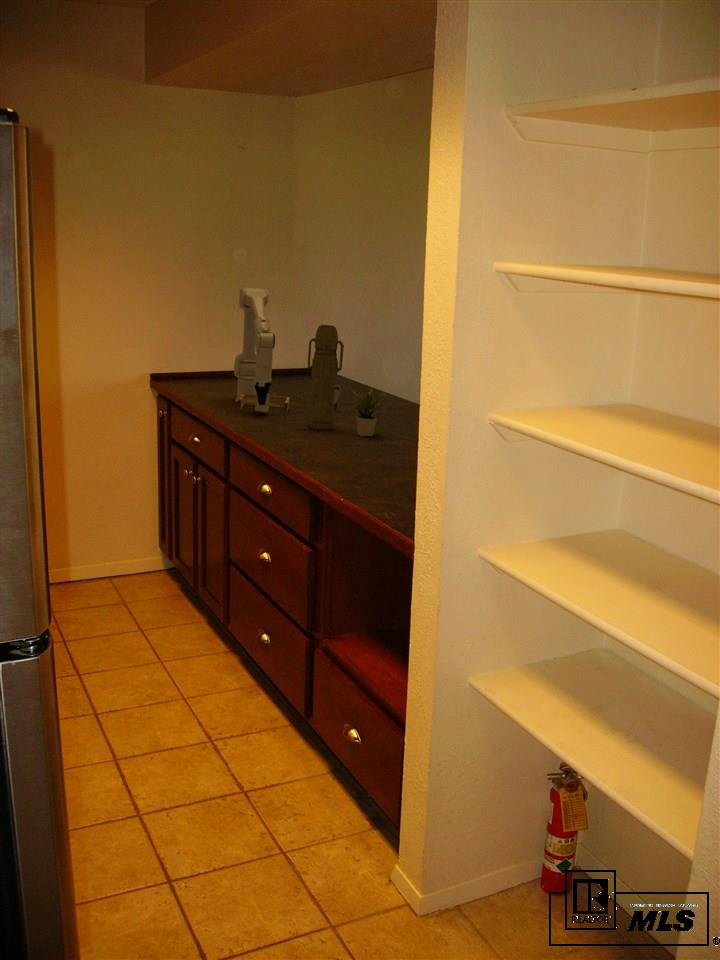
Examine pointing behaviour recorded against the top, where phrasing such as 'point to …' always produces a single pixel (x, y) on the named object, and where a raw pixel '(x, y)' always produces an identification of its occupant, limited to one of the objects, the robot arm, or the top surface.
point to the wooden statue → (324, 377)
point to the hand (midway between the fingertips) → (262, 403)
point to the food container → (336, 396)
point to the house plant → (366, 414)
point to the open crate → (273, 401)
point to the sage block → (262, 407)
